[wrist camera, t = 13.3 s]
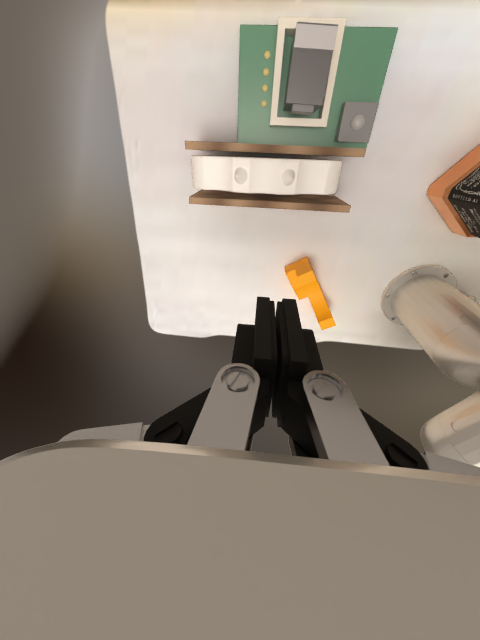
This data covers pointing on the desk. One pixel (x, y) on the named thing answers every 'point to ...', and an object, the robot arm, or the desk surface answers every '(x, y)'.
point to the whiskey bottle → (459, 195)
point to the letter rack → (272, 199)
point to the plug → (309, 67)
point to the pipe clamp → (309, 290)
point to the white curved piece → (266, 175)
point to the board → (340, 94)
